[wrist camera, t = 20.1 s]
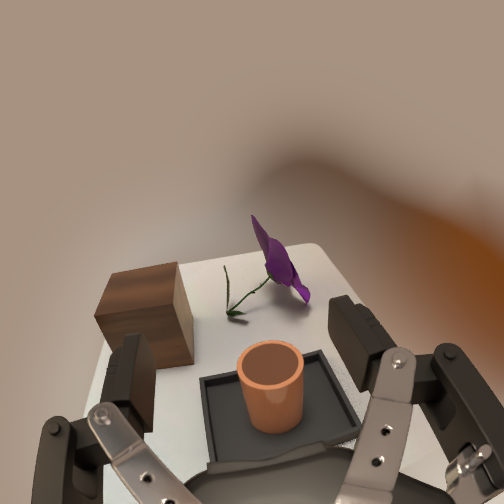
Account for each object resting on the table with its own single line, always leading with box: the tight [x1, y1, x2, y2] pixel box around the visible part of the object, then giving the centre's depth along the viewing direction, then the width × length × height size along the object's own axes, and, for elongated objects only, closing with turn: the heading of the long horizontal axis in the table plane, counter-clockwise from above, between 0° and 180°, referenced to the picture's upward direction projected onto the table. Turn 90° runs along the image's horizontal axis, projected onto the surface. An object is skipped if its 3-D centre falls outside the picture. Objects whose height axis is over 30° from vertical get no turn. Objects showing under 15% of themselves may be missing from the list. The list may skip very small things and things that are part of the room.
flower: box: [224, 215, 310, 316], centre depth 48 cm, size 15×15×14 cm
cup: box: [237, 341, 304, 434], centre depth 29 cm, size 6×6×9 cm
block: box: [94, 262, 194, 369], centre depth 42 cm, size 11×11×11 cm
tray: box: [199, 350, 362, 462], centre depth 31 cm, size 16×13×2 cm
